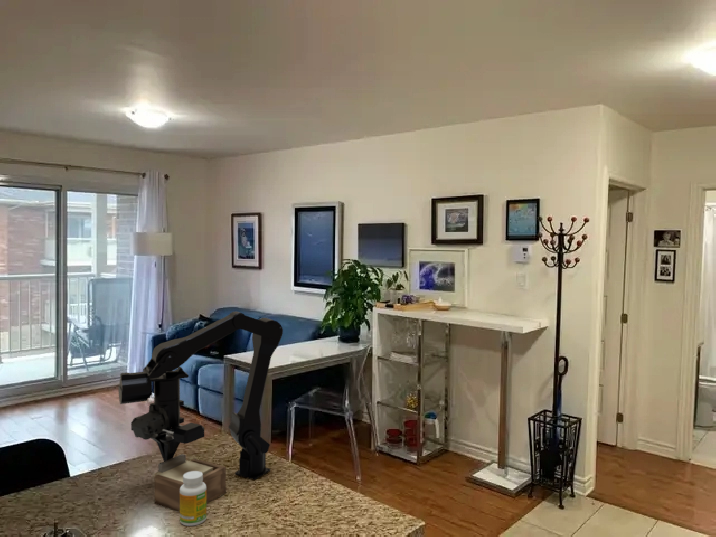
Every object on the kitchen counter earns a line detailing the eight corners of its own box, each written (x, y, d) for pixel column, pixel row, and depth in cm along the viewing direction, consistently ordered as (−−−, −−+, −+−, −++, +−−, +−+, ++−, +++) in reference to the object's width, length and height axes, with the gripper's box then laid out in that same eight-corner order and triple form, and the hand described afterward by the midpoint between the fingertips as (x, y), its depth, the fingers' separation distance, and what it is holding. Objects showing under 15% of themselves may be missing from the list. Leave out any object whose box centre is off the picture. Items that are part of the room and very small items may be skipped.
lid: (185, 462, 133) (185, 452, 133) (213, 470, 129) (213, 459, 129) (154, 476, 125) (154, 465, 125) (182, 485, 121) (182, 473, 121)
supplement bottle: (198, 527, 113) (198, 481, 113) (174, 525, 114) (174, 478, 114) (210, 515, 118) (210, 470, 118) (187, 512, 119) (187, 468, 119)
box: (194, 483, 134) (194, 458, 134) (225, 493, 129) (225, 466, 129) (154, 503, 123) (154, 476, 123) (186, 514, 118) (186, 486, 118)
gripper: (110, 400, 127) (111, 467, 127) (167, 413, 117) (167, 485, 118) (150, 389, 136) (151, 451, 137) (205, 400, 127) (206, 467, 128)
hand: (167, 463), depth 130 cm, fingers closed
